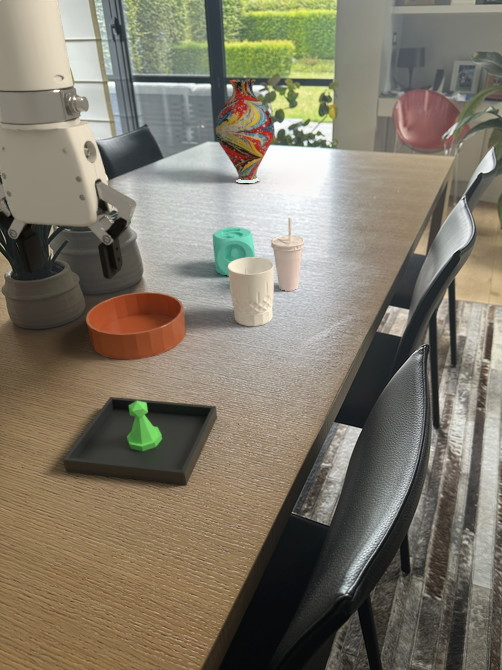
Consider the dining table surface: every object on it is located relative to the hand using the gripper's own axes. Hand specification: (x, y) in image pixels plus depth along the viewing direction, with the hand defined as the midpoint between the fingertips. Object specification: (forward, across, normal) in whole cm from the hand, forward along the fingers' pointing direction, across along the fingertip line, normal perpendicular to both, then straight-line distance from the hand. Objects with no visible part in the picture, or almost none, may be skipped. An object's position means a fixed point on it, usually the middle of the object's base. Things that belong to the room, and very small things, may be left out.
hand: (74, 271), depth 64 cm
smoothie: (+21, -17, -45) cm, 53 cm away
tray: (+21, -8, +5) cm, 23 cm away
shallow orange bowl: (+21, +4, -22) cm, 31 cm away
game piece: (+20, -8, +5) cm, 22 cm away
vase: (+22, +11, -130) cm, 132 cm away
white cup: (+21, -14, -31) cm, 40 cm away
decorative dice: (+21, -4, -53) cm, 57 cm away
